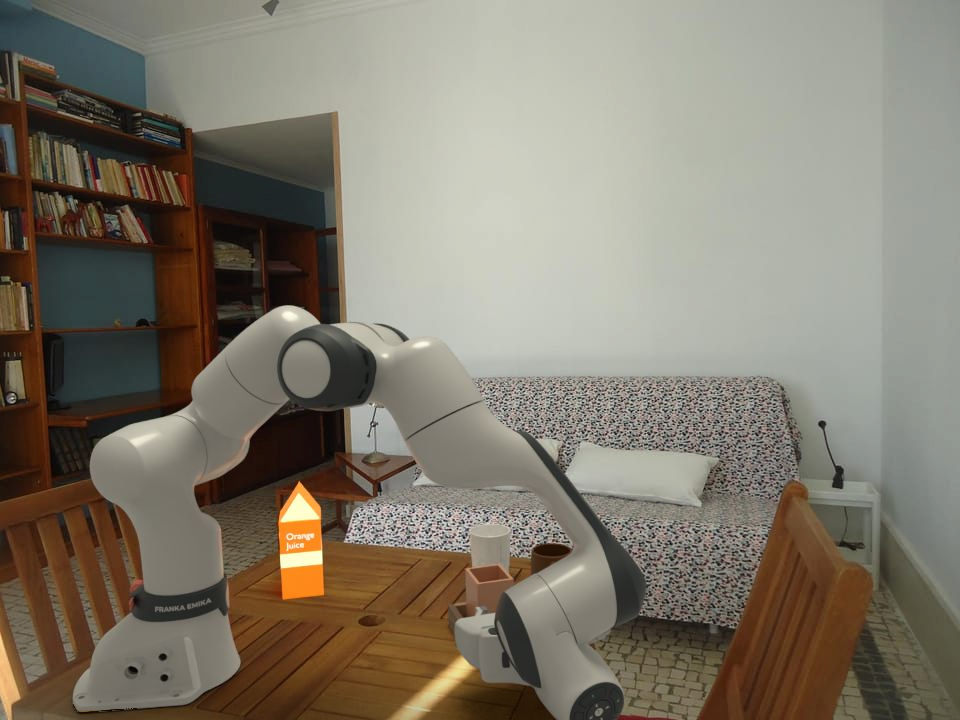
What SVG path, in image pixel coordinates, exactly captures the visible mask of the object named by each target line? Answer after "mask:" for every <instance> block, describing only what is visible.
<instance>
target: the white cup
mask: <svg viewBox="0 0 960 720" xmlns="http://www.w3.org/2000/svg"><path fill="white" fill-rule="evenodd" d="M469 541H470V542H469V543H470V556H471V566H472V568H473V567H480V566H487V565H495V564H501V566H502V567H503V568H504V569H505V570H506V571H507V572H508V573H509V574H510V571H509V568H510V557H511V556H510V555H511V553H510V552H511V528H510V527H509V526H507V525H504V524H498V523H484V524H482V523H481V524H478V525H477V524H476V525H475V526H472V527H471V528H470V529H469Z"/></svg>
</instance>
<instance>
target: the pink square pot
mask: <svg viewBox="0 0 960 720" xmlns="http://www.w3.org/2000/svg"><path fill="white" fill-rule="evenodd" d="M464 571H465V602H466V609H467V617H472V616H475V607H482V606H486V608H487V609H488V614H490V613H496V608H497V604H498V600H499V598H500V596H501V594H502V592H505V591H506V590H507V589H509V588H511V587H512V586H514V585H515V579H514V578H513V577H512V576H511V574H510V572H509V573H508V572H507V571H506V570H505V569H504V568H503V567H502V566H501V564H495V565H487V566H480V567H473V566H472V567H467V568H465V569H464Z"/></svg>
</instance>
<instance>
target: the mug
mask: <svg viewBox="0 0 960 720" xmlns="http://www.w3.org/2000/svg"><path fill="white" fill-rule="evenodd" d="M572 551H573V549H572V548H571V547H570V546H568V545H565V544H562V543H556V542H555V543H554V542H552V543H551V542H549V543H541V544H537V545H535V546H533V547H532V548H531V552H530V574H531V575H533V574H537V573H538V572H540V571H542V570H544V569H545V568H547V567H549V566H551V565H552V564H554V563H556V562H558V561H559V560H561V559H563V558H565V557H566V556H568V555H569V554H570V553H571V552H572ZM531 575H530V576H531Z"/></svg>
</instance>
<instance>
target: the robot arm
mask: <svg viewBox="0 0 960 720" xmlns="http://www.w3.org/2000/svg"><path fill="white" fill-rule="evenodd" d="M190 393H191V398H192V401H191V402H190V403H189V404H188V405H187V406H186V407H184V408H182V409H181V410H179V411H177V412H175V413H172V414H168V415H166V416H163V417H158V418H153V419H148V420H143V421H139V422H134V423H132V424H128V425H126V426H124V427H122V428H120V429H118V430H116V431H114V432H112V433H109V434H108V435H107V436H105V437H103V438H101V439H100V440H99V441H98V442H97V443H96V444H95V446H94V448H93V449H92V452H91V456H90V458H89V459H90V461H89V473H90V478H91V481H92V484H93V485H94V487H95V489H96V490H97V492H98V493H99V494H100V495H101V497H103V498H105V499H106V500H107V501H108V502H111V503H113V504H114V505H117V506H118V507H119V508H120V509H122V510H123V512H125V514H126V515H127V517H128V518H129V520H130V521H131V523H132V526H133V527H134V530H135V533H136V535H137V539H138V543H139V551H140V561H141V571H142V579H143V580H142V579H136V580H134V581H133V582H132V583H131V585H130V587H129V597H128V605H129V606H128V608H129V613H128V614H127V615H126V616H125V617H124V618H122V619H121V620H120V621H119V622H117V624H115V626H113V627H112V628H110V629H109V630H108V631H107V632H106V633H105V634H104V635H103V636H102V637H101V638H100V640H99V641H98V643H97V645H96V647H95V648H94V651H93V652H92V653H93V654H92V657H91V660H90V664H89V665H90V667H89V668H87V669H86V670H85V671H84V672H83V674H81V676H80V677H79V679H78V680H77V682H76V683H75V686H74V688H73V693H72V705H73V704H74V706H75V707H76V708H77V709H78V710H107V709H108V710H109V709H124V710H134V709H133V708H137V709H147V708H160V707H174V706H184V705H185V706H186V705H188V704H191V703H192V702H194V701H195V700H196V699H198V698H199V697H200V696H201V695H202V694H203V693H205V692H208V691H209V690H212V689H214V688H215V687H218V686H219V685H221V684H223V683H225V682H226V681H228V680H229V679H230V678H232V677H233V675H235V674H236V673H237V671H238V670H239V668H240V666H241V657H240V655H239V653H238V651H237V650H238V649H237V648H236V644H235V642H234V637H233V633H232V629H231V623H230V619H229V613H228V612H229V608H230V590H229V582H228V576H227V573H226V572H225V571H224V558H223V557H224V555H223V540H222V529H221V526H220V524H219V522H218V521H217V520H216V519H215V518H214V517H212V516H211V515H209V514H207V513H205V512H202V511H201V509H200V507H199V505H198V503H197V500H196V496H195V486H198V485H200V484H203V483H207V482H209V481H211V480H214V479H218V478H220V477H221V476H223V475H225V474H226V473H228V472H229V471H231V470H233V469H234V468H235V467H236V466H238V465H239V464H240V463H242V462H243V461H244V460H245V459H246V456H247V454H248V452H249V449H250V442H251V441H250V440H251V438H252V436H253V435H254V434H255V433H256V432H257V431H258V429H259V428H261V426H263V425H264V424H265V423H266V422H267V421H269V419H270V418H271V417H272V416H274V415H275V414H276V412H278V411H279V410H280V408H282V407H283V406H284V405H285V404H286V403H287V402H288V401H290V400H291V401H292V402H293V403H294V404H296V405H298V406H300V407H302V408H304V409H308V410H313V411H319V412H334V411H338V410H342V409H355V408H359V407H363V406H366V405H369V404H372V403H374V404H375V403H376V404H378V405H380V406H382V407H383V408H385V410H387V412H388V413H389V414H390V415H391V417H392V419H393V420H394V422H395V424H396V426H397V428H398V430H399V432H400V435H401V437H402V439H403V441H404V443H405V445H406V447H407V449H408V451H409V453H410V454H411V456H412V458H413V460H414V461H415V463H416V464H417V467H418V468H419V469H420V471H421V473H422V474H423V475H424V476H425V477H426V478H427V479H428V480H429V481H431V482H433V483H434V484H436V485H438V486H441V487H444V488H448V489H451V490H452V489H453V490H476V489H487V488H496V487H518V488H523V489H525V490H527V491H529V492H531V493H533V494H534V495H535V496H536V497H537V498H538V499H539V500H540V502H541V503H542V504H543V506H544V507H545V508H546V510H547V511H548V513H549V514H550V515H551V516H552V517H553V519H554V520H555V522H556V523H557V524H558V525H559V527H560V528H561V529H562V531H563V532H564V534H565V535H566V536H567V537H568V539H569V540H570V541H571V543H572V546H573V549H572V552H571V553H570V554H569V555H568V556H566V557H565V558H563V559H561V560H559V561H558V562H556V563H554V564H552V565H551V566H549V567H547V568H545V569H544V570H542V571H540V572H538V573H537V574H533V575H530V576H528V577H526V578H524V579H523V580H521V581H519V582H517V583H516V584H514V586H512V587H511V588H509V589H507V590H506V591H505V592H502V594H501V596H500V598H499V600H498V604H497V608H496V613H490V614H488V609H487V608H486V606H482V607H475V616H472V617H466V618H460V619H458V620H457V621H456V623H455V635H454V641H455V645H456V648H457V650H458V652H459V653H460V655H461V656H462V657H463V659H464V660H465V661H466V662H467V663H468V665H469V666H471V667H473V668H474V669H477V670H480V672H479V673H480V677H481V679H482V681H483V682H485V683H488V684H499V683H500V684H501V683H502V684H516V685H517V684H518V685H523V686H529V687H532V688H533V689H534V691H535V693H536V695H537V697H538V698H539V700H540V701H541V703H542V704H543V705H544V707H545V709H547V711H548V712H549V713H550V714H551V716H553V718H554V719H555V720H619V717H620V716H621V714H622V712H623V710H624V707H625V693H624V688H623V687H622V685H621V683H620V681H619V680H618V678H617V677H616V674H615V673H614V672H613V670H612V669H611V668H610V666H609V665H608V664H607V663H606V661H605V660H604V658H602V657H601V655H600V654H599V653H598V652H597V651H596V650H595V649H594V648H593V647H592V646H591V645H590V644H594V643H596V642H598V641H601V640H604V639H606V636H608V635H610V634H611V629H615V628H617V627H619V626H621V625H624V624H625V623H627V622H629V621H631V620H633V619H635V618H638V617H639V615H640V613H641V609H642V607H643V604H644V601H645V598H646V592H647V586H648V585H647V581H646V578H645V575H644V573H643V572H642V570H641V568H640V566H639V564H638V563H637V561H636V560H635V558H633V556H632V555H631V554H630V553H629V552H628V551H627V549H625V547H624V546H623V545H622V544H621V543H620V541H618V539H617V538H616V537H614V535H613V534H612V532H610V530H609V529H608V528H607V527H606V525H604V523H603V522H602V520H600V518H599V516H598V515H597V514H596V512H595V511H594V510H593V509H592V507H591V506H590V505H589V504H588V502H587V501H586V500H585V498H584V497H583V496H582V495H581V493H580V492H579V490H578V489H577V488H576V487H575V485H574V483H573V482H572V481H571V480H570V478H569V477H568V476H567V475H566V473H565V472H564V471H563V469H562V468H561V467H560V466H559V464H558V462H556V461H555V460H554V458H553V457H552V455H550V453H549V452H548V451H547V450H546V449H545V447H544V446H543V445H542V444H541V443H540V442H539V441H538V440H537V439H536V438H535V437H534V436H532V435H531V434H530V433H529V432H527V431H525V430H513V429H511V428H510V427H508V426H507V425H505V424H504V423H502V421H501V420H499V419H498V418H497V417H496V416H495V415H494V414H493V412H492V411H491V410H490V408H489V407H488V406H487V403H486V401H485V400H484V397H483V396H482V394H481V393H480V390H479V388H478V387H477V384H475V381H474V380H473V378H472V377H471V376H470V374H469V372H468V371H467V370H466V368H465V367H464V365H463V364H462V362H461V361H460V360H459V358H458V357H457V356H456V354H455V353H454V352H453V350H452V349H451V348H450V347H449V345H447V344H446V343H445V342H444V341H443V340H441V339H439V338H436V337H432V336H420V337H419V336H418V337H414V338H409V337H408V336H407V335H406V333H404V332H402V331H401V330H399V329H397V328H396V327H394V326H391V325H389V324H388V325H387V324H384V323H377V322H376V323H369V322H361V321H348V322H347V321H346V322H339V323H330V324H328V323H327V324H326V323H321V322H320V321H319V320H318V319H317V318H316V317H315V316H314V315H313V314H312V313H310V312H309V311H308V310H306V309H303V308H301V307H299V306H295V305H288V304H287V305H282V306H278V307H275V308H273V309H271V310H270V311H269V312H267V313H266V314H264V315H262V316H261V317H260V318H258V319H257V320H255V321H254V322H253V323H251V324H250V325H249V326H247V327H246V328H245V329H244V330H243V331H241V332H240V333H239V334H238V335H237V336H236V337H234V339H233V340H232V341H230V342H229V343H228V344H227V345H226V346H225V348H223V349H222V351H220V353H218V354H217V355H216V357H214V358H213V359H212V361H210V363H209V364H208V365H207V366H205V367H204V369H202V371H201V372H200V373H199V374H198V375H197V376H196V377H195V379H194V380H193V382H192V385H191V391H190ZM126 708H127V709H126ZM128 708H129V709H128ZM131 708H132V709H131Z"/></svg>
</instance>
